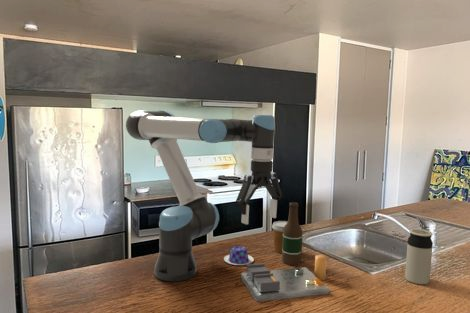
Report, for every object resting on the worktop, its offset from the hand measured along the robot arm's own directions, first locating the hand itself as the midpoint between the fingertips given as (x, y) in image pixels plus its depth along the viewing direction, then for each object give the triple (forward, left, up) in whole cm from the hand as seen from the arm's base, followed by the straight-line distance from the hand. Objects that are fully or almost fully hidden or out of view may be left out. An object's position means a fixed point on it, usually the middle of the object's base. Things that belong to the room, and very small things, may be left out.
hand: (259, 220), depth 129 cm
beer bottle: (+18, +11, -21) cm, 30 cm away
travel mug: (+56, -14, -21) cm, 62 cm away
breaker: (-1, -3, -19) cm, 19 cm away
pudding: (-2, +17, -22) cm, 28 cm away
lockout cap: (+22, -5, -21) cm, 31 cm away
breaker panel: (+7, -8, -21) cm, 23 cm away
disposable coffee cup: (+19, +23, -21) cm, 37 cm away
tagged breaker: (-1, -12, -19) cm, 22 cm away
